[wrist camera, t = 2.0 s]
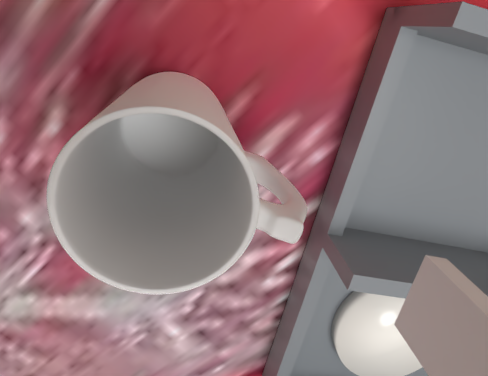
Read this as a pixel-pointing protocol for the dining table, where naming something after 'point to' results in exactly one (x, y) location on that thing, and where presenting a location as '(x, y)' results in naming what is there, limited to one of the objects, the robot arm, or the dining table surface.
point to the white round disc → (372, 336)
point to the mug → (164, 190)
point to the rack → (398, 180)
